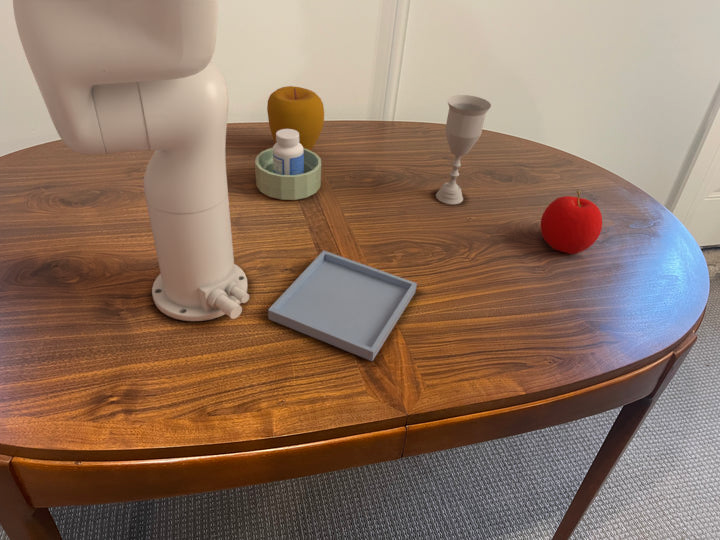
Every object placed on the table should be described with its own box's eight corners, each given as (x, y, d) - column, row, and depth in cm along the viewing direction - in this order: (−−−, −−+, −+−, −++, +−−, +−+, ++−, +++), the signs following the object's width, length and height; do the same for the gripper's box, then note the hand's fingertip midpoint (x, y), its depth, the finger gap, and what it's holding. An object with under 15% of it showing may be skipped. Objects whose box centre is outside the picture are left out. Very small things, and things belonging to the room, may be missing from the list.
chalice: (438, 208, 96) (457, 111, 85) (424, 189, 101) (440, 95, 90) (475, 205, 98) (498, 110, 87) (460, 186, 103) (480, 94, 92)
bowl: (333, 186, 99) (334, 162, 96) (287, 209, 92) (287, 183, 89) (289, 164, 105) (289, 140, 102) (243, 184, 97) (241, 159, 94)
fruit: (589, 236, 92) (610, 186, 86) (592, 267, 85) (616, 214, 79) (535, 225, 94) (552, 174, 88) (534, 254, 87) (552, 201, 81)
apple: (332, 150, 111) (335, 88, 103) (301, 169, 103) (301, 104, 95) (290, 134, 115) (290, 74, 107) (257, 152, 108) (254, 88, 100)
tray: (415, 292, 77) (417, 283, 76) (372, 361, 66) (373, 352, 65) (323, 259, 82) (323, 250, 81) (268, 319, 71) (267, 309, 70)
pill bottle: (304, 176, 100) (305, 127, 94) (303, 191, 96) (303, 141, 90) (275, 175, 100) (273, 126, 94) (272, 190, 96) (270, 139, 90)
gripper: (51, -108, 65) (85, 41, 75) (196, -101, 71) (209, 35, 82) (49, -113, 70) (82, 26, 80) (185, -106, 76) (199, 22, 87)
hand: (146, 30), depth 81 cm, fingers open, 9 cm apart
